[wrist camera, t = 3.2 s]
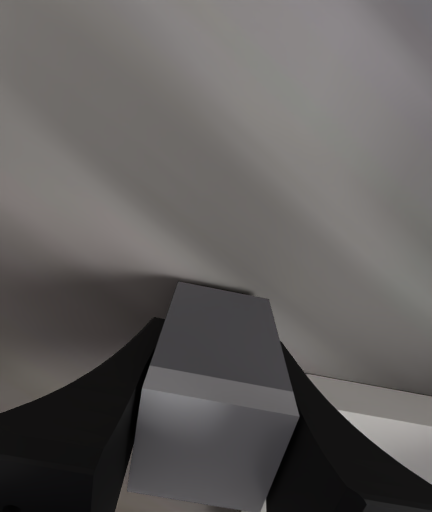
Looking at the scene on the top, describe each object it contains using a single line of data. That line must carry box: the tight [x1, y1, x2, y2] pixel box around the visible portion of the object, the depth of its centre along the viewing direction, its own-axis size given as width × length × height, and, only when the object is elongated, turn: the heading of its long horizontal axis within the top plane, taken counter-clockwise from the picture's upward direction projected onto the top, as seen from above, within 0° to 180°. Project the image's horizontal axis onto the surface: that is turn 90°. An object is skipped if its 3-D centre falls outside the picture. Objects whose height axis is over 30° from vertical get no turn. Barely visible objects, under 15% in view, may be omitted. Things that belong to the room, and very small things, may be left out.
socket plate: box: [241, 373, 432, 512], centre depth 17 cm, size 12×12×2 cm
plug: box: [127, 281, 300, 512], centre depth 11 cm, size 4×4×6 cm
